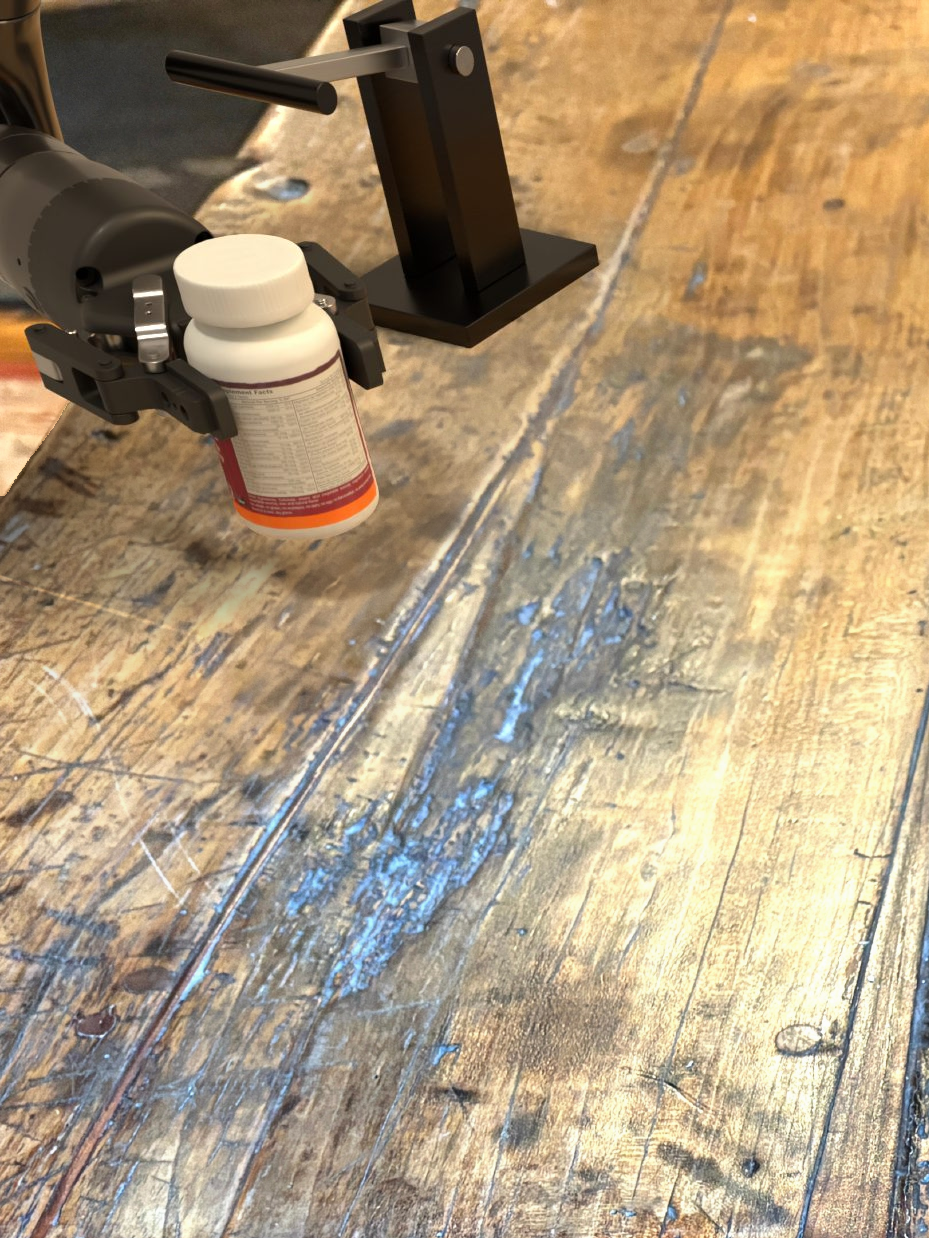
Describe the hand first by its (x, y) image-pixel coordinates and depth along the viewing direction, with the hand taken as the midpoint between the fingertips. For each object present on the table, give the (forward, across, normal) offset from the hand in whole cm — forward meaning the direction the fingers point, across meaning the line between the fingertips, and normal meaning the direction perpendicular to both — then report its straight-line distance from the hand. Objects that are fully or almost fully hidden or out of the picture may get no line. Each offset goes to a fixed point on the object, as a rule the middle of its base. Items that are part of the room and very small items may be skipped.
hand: (300, 390), depth 93 cm
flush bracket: (-25, +22, +10) cm, 35 cm away
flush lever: (-23, +16, -2) cm, 28 cm away
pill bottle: (-2, 0, +7) cm, 7 cm away
